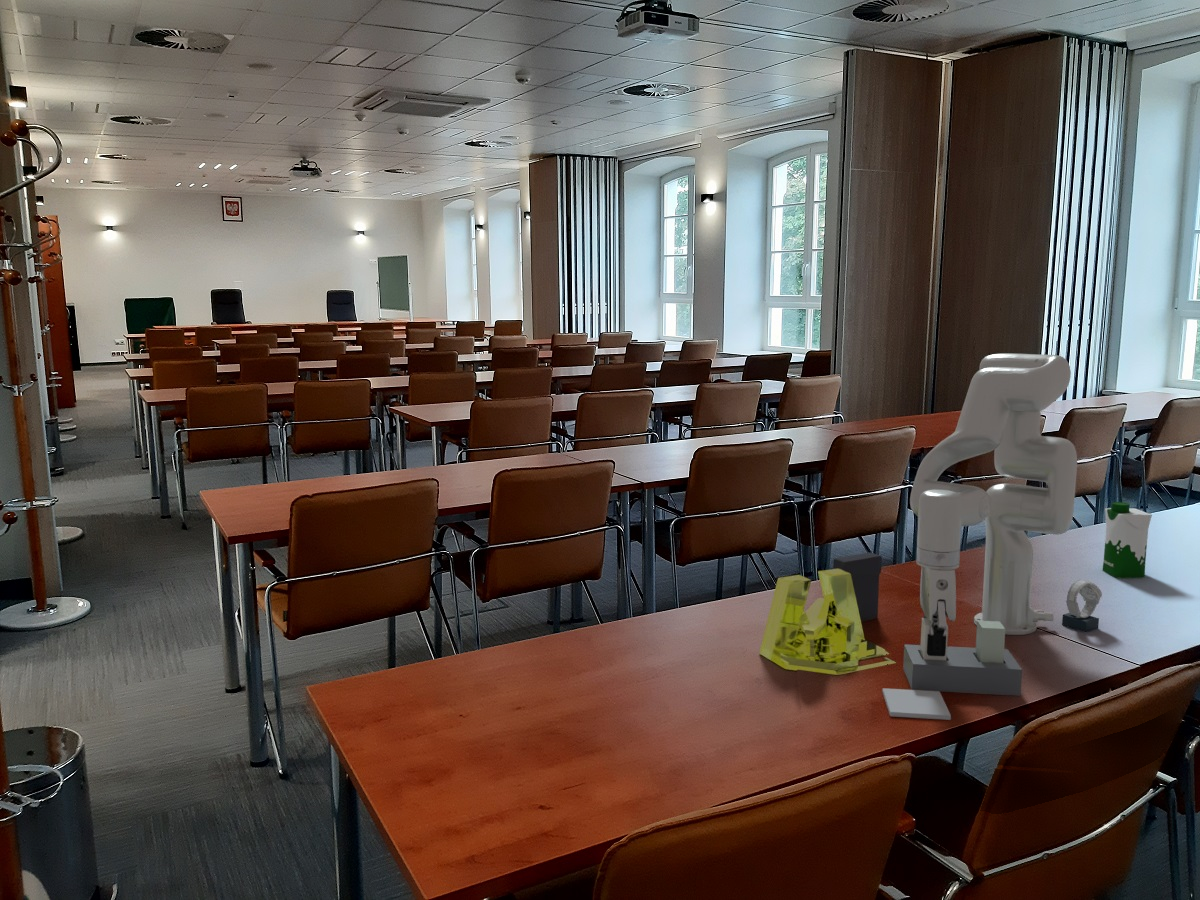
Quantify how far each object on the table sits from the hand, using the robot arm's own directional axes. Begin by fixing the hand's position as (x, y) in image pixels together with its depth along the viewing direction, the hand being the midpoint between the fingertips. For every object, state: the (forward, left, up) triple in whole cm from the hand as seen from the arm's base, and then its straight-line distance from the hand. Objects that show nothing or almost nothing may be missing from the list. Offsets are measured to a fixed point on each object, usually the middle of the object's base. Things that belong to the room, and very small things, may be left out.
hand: (933, 649), depth 172 cm
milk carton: (-60, -73, -6) cm, 95 cm away
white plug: (0, 0, -5) cm, 5 cm away
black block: (+11, -32, -6) cm, 34 cm away
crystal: (+18, -10, -6) cm, 22 cm away
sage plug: (-10, 0, -5) cm, 11 cm away
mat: (+5, +12, -6) cm, 14 cm away
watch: (-37, -32, -6) cm, 49 cm away
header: (-5, 0, -6) cm, 8 cm away
